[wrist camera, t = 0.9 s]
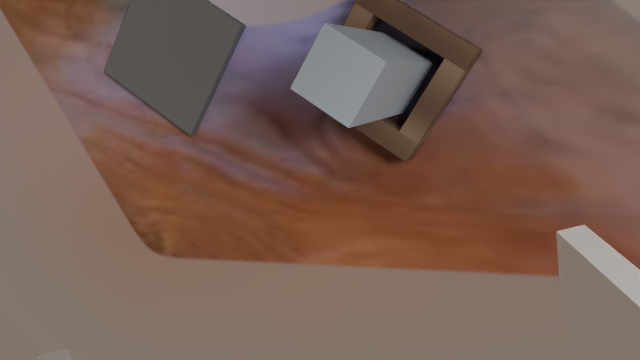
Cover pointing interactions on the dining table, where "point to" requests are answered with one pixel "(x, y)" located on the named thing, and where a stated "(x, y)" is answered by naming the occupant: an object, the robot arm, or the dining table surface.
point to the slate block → (360, 74)
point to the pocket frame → (459, 57)
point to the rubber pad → (174, 55)
